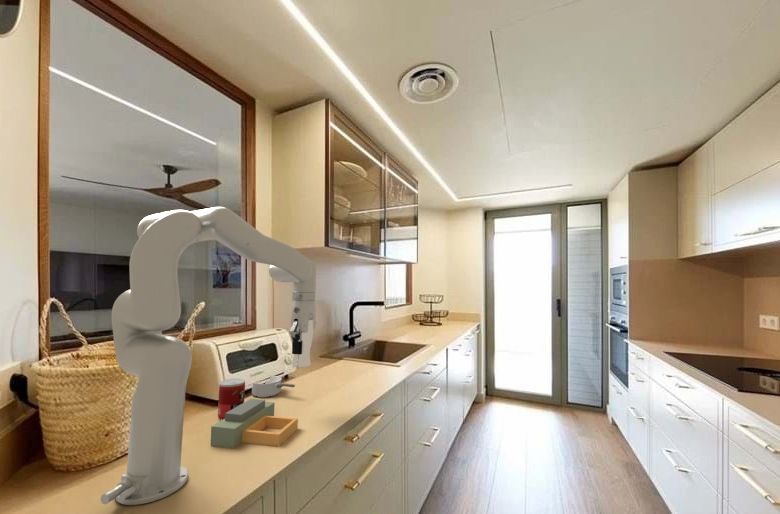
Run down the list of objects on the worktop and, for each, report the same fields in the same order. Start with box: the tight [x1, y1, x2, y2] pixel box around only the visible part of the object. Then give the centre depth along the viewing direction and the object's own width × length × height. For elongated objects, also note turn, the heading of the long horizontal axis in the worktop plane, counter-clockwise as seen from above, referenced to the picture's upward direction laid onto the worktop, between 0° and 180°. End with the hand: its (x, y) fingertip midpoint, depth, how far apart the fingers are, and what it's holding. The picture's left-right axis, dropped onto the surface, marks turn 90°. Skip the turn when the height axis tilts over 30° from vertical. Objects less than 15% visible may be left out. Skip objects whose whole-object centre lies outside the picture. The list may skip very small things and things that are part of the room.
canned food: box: [217, 377, 246, 420], centre depth 108 cm, size 8×8×11 cm
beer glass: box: [291, 319, 314, 368], centre depth 109 cm, size 7×7×15 cm
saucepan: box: [251, 375, 296, 398], centre depth 128 cm, size 12×20×6 cm, turn 62°
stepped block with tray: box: [209, 398, 299, 449], centre depth 96 cm, size 20×18×7 cm
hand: (301, 351), depth 108 cm, fingers closed on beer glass, 6 cm apart
